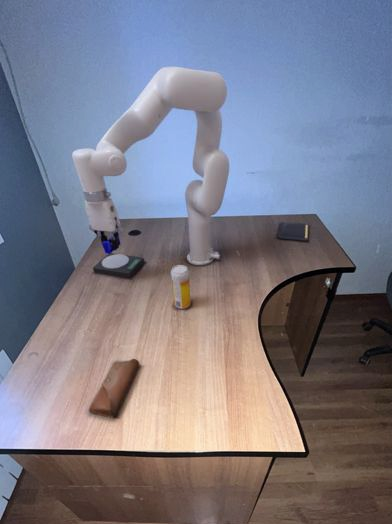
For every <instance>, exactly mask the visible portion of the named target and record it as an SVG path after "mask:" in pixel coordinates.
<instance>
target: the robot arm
mask: <svg viewBox="0 0 392 524" xmlns="http://www.w3.org/2000/svg"><path fill="white" fill-rule="evenodd" d="M227 92H228V87H227V83H226V81H225V78H224V77H223V76H222V74H220V73H218V72H217V71H209V70H199V69H192V68H186V67H183V66H182V67H181V66H164V67H161V68H160V69H159V70H157V72H156V73H155V74H154V75H153V76H152V78H151V79H150V80H149V82H148V83H147V85H146V86H145V87H144V89H142V91H141V92H140V94H139V95H138V96H137V98H136V99H135V100H134V102H133V103H132V104H131V105H130V107H129V108H128V109H127V110H126V111H125V112H124V113H122V115H121V116H120V117H118V119H117V120H115V122H114V123H113V124H112V125H111V126H110V127H109V129H108V130H107V131H106V133H105V134H104V135H103V136H102V138H101V139H100V140H99V141H98V143H97V145H96V147H95V149H93V148H90V147H89V148H88V147H86V148H85V147H84V148H79V149H75V150H74V151H73V152H72V154H71V157H72V161H73V164H74V168H75V171H76V173H77V177H78V180H79V184H80V186H81V190H82V193H83V196H84V198H85V199H84V205H85V211H86V215H87V219H88V222H89V226H88V229H89V230H90V231H92V232H93V233H94V234H95V235H96V236H97V238H98V239H100V242H101V245H102V248H103V249H104V247H103V242H104V241H108V239H109V238H108V236H107V235H106V232H107V233H109V235H110V237H111V238H112V240H111V242H112V246H113V249H114V251H117V250H118V249H119V248H120V245H119V242H118V239H117V237H118V236H119V237H120V235H121V234H123V232H124V231H125V230H124V228H123V227H122V225H121V221H120V216H119V213H118V212H117V208H116V205H115V203H114V201H113V199H112V193H111V192H110V191H108V189H107V184H106V181H105V177H119V176H121V175H123V174H124V173H125V171H126V170H127V158H126V155H125V153H126V152H127V151H128V150H129V149H130V148H131V147H132V146H133V145H134V144H136V143H139V142H140V141H143V140H145V139H147V138H149V137H151V136H152V135H153V134H154V133H155V131H156V130H157V129H158V127H159V126H160V125H161V123H162V122H163V121H164V120H165V119H166V117H167V116H168V115H169V113H170V112H171V111H172V110H173V109H175V110H181V111H182V110H183V111H191V112H194V114H195V119H196V136H195V142H194V149H193V156H192V169H193V171H194V173H195V174H196V175H197V176H199V177H201V178H203V179H202V180H201V179H193V180H191V181H190V182H189V183H188V184H187V186H186V188H185V192H184V200H185V205H186V211H187V223H188V239H189V240H188V241H189V253H188V254H187V255H186V260H187V262H188V263H189V264H191V265H195V266H205V265H209V264H211V263H212V262H213V261H214V260H215V259H217V260H220V257H221V255H220V253H219V251H214V250H213V247H212V216H215V214H217V213H219V211H220V209H221V207H222V204H223V201H224V197H225V193H226V189H227V184H228V179H229V173H230V161H229V158H228V155H227V154H226V153H225V151H223V150H221V149H220V144H221V138H222V132H223V118H222V112H221V108H222V107H223V106H224V104H225V101H226V99H227V96H228V93H227ZM113 233H114V234H113Z"/></svg>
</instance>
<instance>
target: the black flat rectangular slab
mask: <svg viewBox="0 0 392 524" xmlns="http://www.w3.org/2000/svg"><path fill="white" fill-rule="evenodd" d="M309 226H310V225H309V224H308V223H307V224H306V223H302V222H291V221H281V222H280V226H279V230H278V235H277V239H278V240H283V241H297V242H305V243H307V242H309Z"/></svg>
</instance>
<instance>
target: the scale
mask: <svg viewBox="0 0 392 524" xmlns="http://www.w3.org/2000/svg"><path fill="white" fill-rule="evenodd" d="M145 263H146V262H145V258H144V257H142V256H135V255H128V254H122V253H121V254H119V253H113V252H112V253H111V254H108V253H107V254H106V255H105V256H104V257H103V258H102V259H100V260H99V262H98V263H96V264H95V265H94V266H93V267H92V270H93V273H95V274H99V275H105V276H112V277H117V278H118V277H119V278H122V279H123V278H124V279H132V277H134V275H135V274H136V273H137V272H138V271H139V270H140V268H141V267H143V265H144V264H145Z"/></svg>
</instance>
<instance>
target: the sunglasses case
mask: <svg viewBox="0 0 392 524" xmlns="http://www.w3.org/2000/svg"><path fill="white" fill-rule="evenodd" d="M139 366H140V362H139V360H138V359H137V358H132V359H130V360H125V361H120V362H114V363H113V364H112V366H111V368H110V370H109V371H108V373H107V375H106V377H105V379H104V381H103V382H102V384H101V386H100V388H99V390H98V392H97V393H96V395H95V397H94V399H93V400H92V402H91V403H90V406H89V407H88V412H89V413H91V414H94V415H97V416H102V417H106V418H110V419H114V418H116V417H117V415H118V414H119V412H120V409H121V407H122V404H123V402H124V400H125V397H126V394H127V393H128V390H129V389H130V386H131V384H132V381H133V379H134V377H135V375H136V373H137V371H138V368H139Z"/></svg>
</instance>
